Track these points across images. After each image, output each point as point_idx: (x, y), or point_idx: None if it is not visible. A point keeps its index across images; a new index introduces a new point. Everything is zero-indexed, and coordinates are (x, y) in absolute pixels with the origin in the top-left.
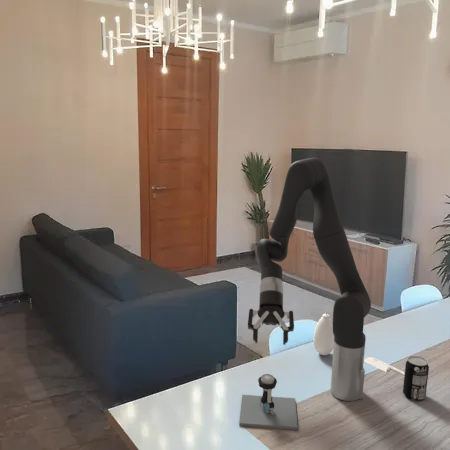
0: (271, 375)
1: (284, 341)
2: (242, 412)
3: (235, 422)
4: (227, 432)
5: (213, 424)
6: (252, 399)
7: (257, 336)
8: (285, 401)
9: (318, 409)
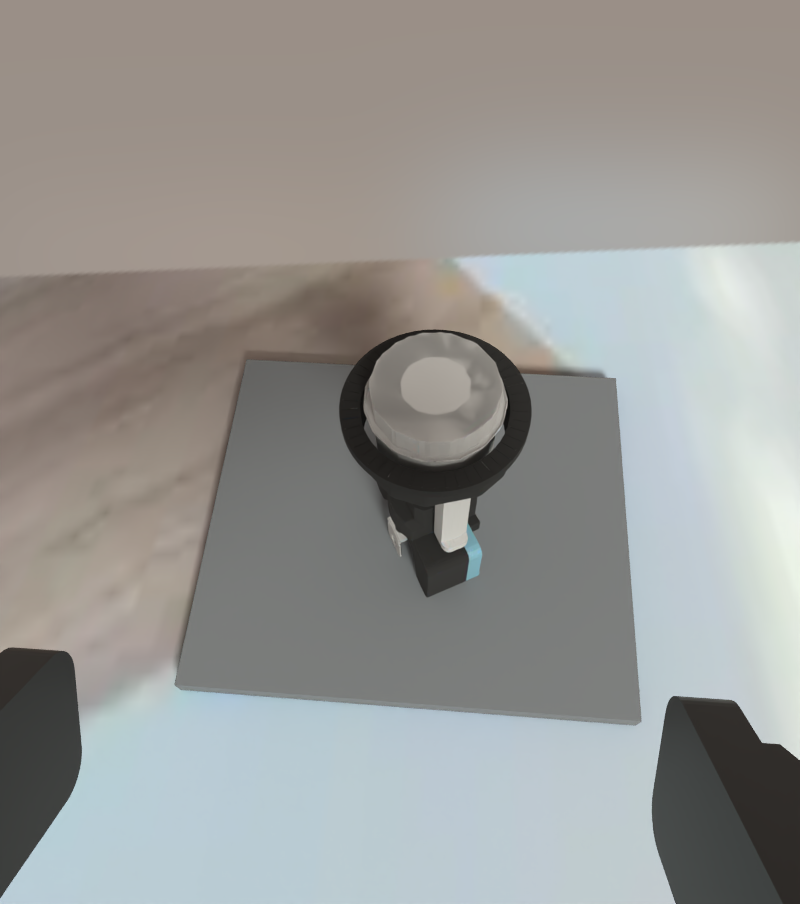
0: (391, 416)
1: (35, 652)
2: (607, 481)
3: (639, 416)
4: (672, 333)
5: (777, 392)
6: (543, 648)
7: (712, 759)
8: (267, 633)
9: (33, 579)
